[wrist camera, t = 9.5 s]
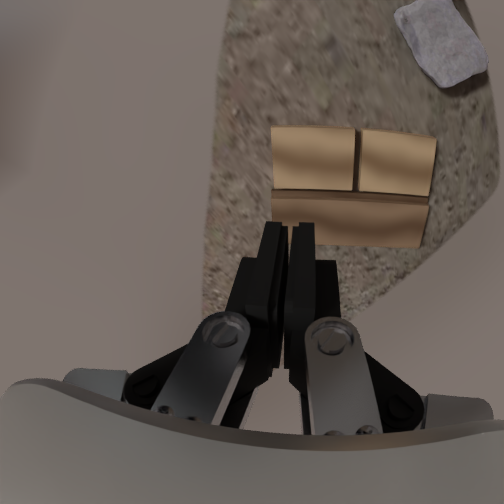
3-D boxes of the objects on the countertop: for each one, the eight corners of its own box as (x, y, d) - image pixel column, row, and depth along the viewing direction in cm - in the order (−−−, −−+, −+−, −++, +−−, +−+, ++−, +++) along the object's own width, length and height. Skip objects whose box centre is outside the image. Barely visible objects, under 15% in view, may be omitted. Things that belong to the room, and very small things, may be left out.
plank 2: (360, 127, 31) (363, 129, 30) (432, 136, 29) (436, 139, 28) (357, 186, 35) (359, 190, 34) (424, 191, 34) (428, 196, 32)
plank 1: (272, 125, 33) (270, 127, 32) (353, 127, 31) (355, 129, 30) (275, 184, 37) (274, 188, 36) (350, 186, 36) (351, 190, 34)
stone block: (433, 92, 27) (484, 63, 20) (442, 99, 24) (499, 67, 17) (377, 19, 23) (431, -12, 17) (380, 16, 20) (440, -18, 13)
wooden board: (271, 189, 38) (270, 193, 37) (426, 196, 34) (430, 201, 33) (274, 237, 42) (273, 243, 41) (416, 243, 38) (418, 248, 37)
